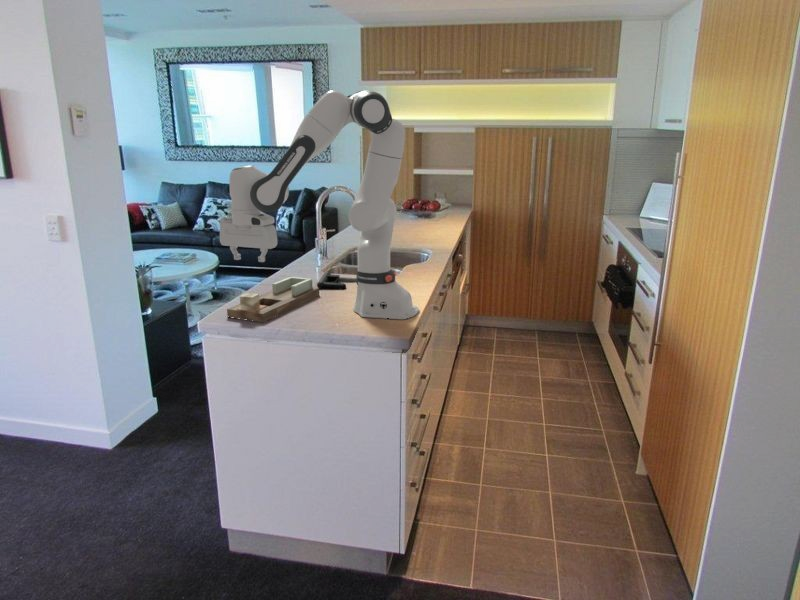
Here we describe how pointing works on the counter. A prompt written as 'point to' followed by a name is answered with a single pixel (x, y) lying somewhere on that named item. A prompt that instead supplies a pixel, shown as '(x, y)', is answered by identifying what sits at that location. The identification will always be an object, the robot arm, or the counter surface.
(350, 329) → the counter surface
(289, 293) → the board
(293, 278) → the cubby
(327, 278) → the door handle
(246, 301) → the cube
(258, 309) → the tile
